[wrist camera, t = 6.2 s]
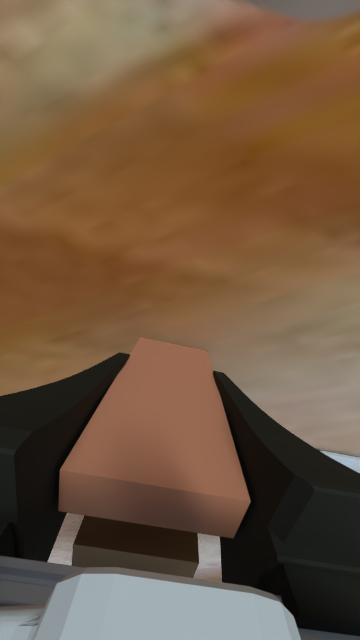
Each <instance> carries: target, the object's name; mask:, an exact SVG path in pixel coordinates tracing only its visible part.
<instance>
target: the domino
mask: <svg viewBox="0 0 360 640" xmlns="http://www.w3.org/2000/svg"><path fill="white" fill-rule="evenodd" d="M198 564H199V555H198V536H197V533H195V532H189V531H182V530H176V529H170V528H163V527H157V526H150V525H144V524H138V523H131V522H125V521H118V520H112V519H106V518H99V517H93V516H86V515H85V516H84V519H83V521H82V524H81V526H80V529H79V531H78V534H77V536H76V539H75V541H74V544H73V556H72V566H76V567H83V568H87V567H119V568H126V569H133V570H140V571H147V572H154V573H161V574H167V575H174V576H181V577H188V578H193V576H194V574H195V571H196V569H197V567H198Z"/></svg>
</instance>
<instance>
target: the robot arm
mask: <svg viewBox="0 0 360 640" xmlns="http://www.w3.org/2000/svg"><path fill="white" fill-rule="evenodd" d="M129 357H130V354H124V353H118V354H116V355H114V356H112V357H110V358H108V359H107V360H105V361H103V362H101V363H99V364H97V365H95V366H93V367H91V368H89V369H87V370H84V371H82V372H80V373H78V374H76V375H73V376H71V377H68V378H65V379H62V380H60V381H57V382H54V383H50V384H47V385H43V386H40V387H37V388H33V389H29V390H25V391H21V392H17V393H12V394H8V395H3V396H0V640H360V457H354V456H349V455H343V454H337V453H332V452H326V451H319V450H317V449H315V448H314V447H312V446H310V445H309V444H307V443H306V442H304V441H303V440H301V439H300V438H298V437H297V436H295V435H294V434H292V433H291V432H289V431H288V430H287V429H285V428H284V427H282V426H281V425H280V424H278V423H277V422H276V421H275V420H273V419H272V418H271V417H270V416H268V415H267V414H266V413H265V412H263V411H262V410H261V409H260V408H259V407H258V406H257V405H256V404H254V403H253V402H252V401H251V400H250V399H249V398H248V397H247V396H246V395H245V394H244V393H243V392H242V391H241V390H240V389H239V388H238V387H237V386H236V385H235V384H234V383H233V382H232V381H231V380H230V379H229V378H228V377H227V376H226V375H225V374H224V373H222V372H217V371H213V376H214V380H215V383H216V386H217V388H218V391H219V393H220V396H221V400H222V403H223V407H224V410H225V414H226V417H227V421H228V424H229V428H230V431H231V435H232V438H233V442H234V445H235V449H236V452H237V455H238V459H239V462H240V466H241V469H242V473H243V476H244V480H245V483H246V487H247V490H248V494H249V497H250V501H251V502H250V504H249V506H248V508H247V511H246V513H245V515H244V517H243V519H242V521H241V523H240V525H239V528H238V530H237V532H236V534H235V536H234V538H227V537H221V536H220V545H221V566H222V582H216V581H209V580H202V579H195V578H188V577H181V576H174V575H167V574H161V573H154V572H147V571H140V570H133V569H126V568H119V567H87V568H83V567H76V566H69V565H62V564H55V563H48V562H47V561H48V559H49V556H50V554H51V551H52V548H53V546H54V543H55V541H56V538H57V536H58V533H59V531H60V528H61V526H62V523H63V521H64V518H65V516H66V513H67V512H61V511H58V508H59V478H60V469H61V467H62V465H63V464H64V462H65V460H66V459H67V457H68V455H69V454H70V452H71V450H72V449H73V447H74V446H75V444H76V442H77V441H78V439H79V437H80V436H81V434H82V432H83V431H84V429H85V427H86V426H87V424H88V422H89V421H90V419H91V417H92V416H93V414H94V413H95V411H96V409H97V408H98V406H99V404H100V403H101V401H102V399H103V398H104V396H105V394H106V393H107V391H108V389H109V388H110V386H111V385H112V383H113V381H114V380H115V378H116V376H117V375H118V373H119V372H120V371H121V370H122V368H123V367H124V366H125V364H126V362H127V360H128V359H129Z"/></svg>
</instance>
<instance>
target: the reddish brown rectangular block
mask: <svg viewBox="0 0 360 640" xmlns="http://www.w3.org/2000/svg"><path fill="white" fill-rule="evenodd" d="M250 502H251V501H250V497H249V494H248V490H247V487H246V483H245V480H244V476H243V473H242V469H241V466H240V462H239V459H238V455H237V452H236V449H235V445H234V442H233V438H232V435H231V431H230V428H229V424H228V421H227V417H226V414H225V410H224V407H223V403H222V400H221V396H220V393H219V391H218V388H217V386H216V383H215V380H214V376H213V369H212V365H211V362H210V358H209V355H208V351H206V350H201V349H196V348H191V347H186V346H181V345H176V344H171V343H166V342H161V341H156V340H151V339H146V338H141V337H140V338H139V340H138V342H137V343H136V345H135V347H134V348H133V350H132V352H131V353H130V357H129V359H128V360H127V362H126V364H125V366H124V367H123V368H122V370H121V371H120V372H119V373H118V375H117V376H116V378H115V380H114V381H113V383H112V385H111V386H110V388H109V389H108V391H107V393H106V394H105V396H104V398H103V399H102V401H101V403H100V404H99V406H98V408H97V409H96V411H95V413H94V414H93V416H92V417H91V419H90V421H89V422H88V424H87V426H86V427H85V429H84V431H83V432H82V434H81V436H80V437H79V439H78V441H77V442H76V444H75V446H74V447H73V449H72V450H71V452H70V454H69V455H68V457H67V459H66V460H65V462H64V464H63V465H62V467H61V469H60V478H59V508H58V511H61V512H67V513H74V514H80V515H86V516H93V517H99V518H106V519H112V520H118V521H125V522H131V523H138V524H144V525H150V526H157V527H163V528H170V529H176V530H182V531H189V532H195V533H202V534H208V535H214V536H221V537H227V538H234V536H235V534H236V532H237V530H238V528H239V525H240V523H241V521H242V519H243V517H244V515H245V513H246V511H247V508H248V506H249V504H250Z"/></svg>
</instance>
